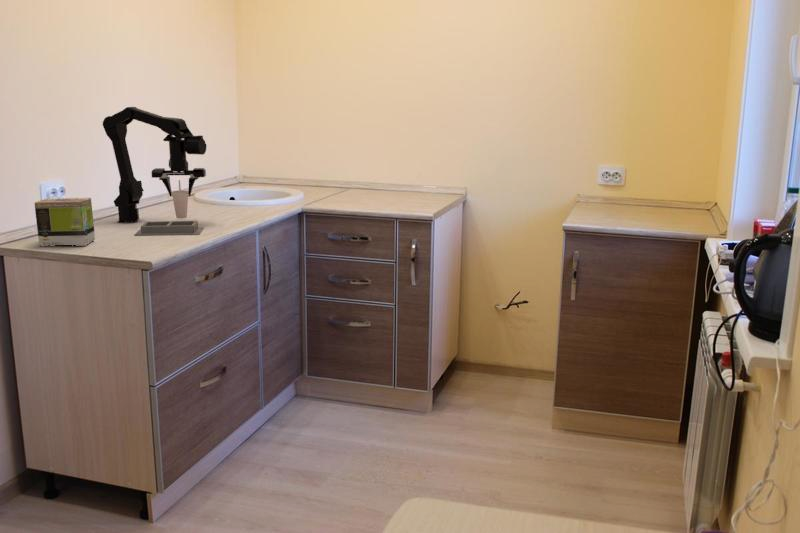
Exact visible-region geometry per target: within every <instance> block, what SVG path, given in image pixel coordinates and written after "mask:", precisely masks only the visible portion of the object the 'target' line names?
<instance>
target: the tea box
mask: <svg viewBox="0 0 800 533" xmlns="http://www.w3.org/2000/svg"><path fill="white" fill-rule="evenodd" d="M92 204H93V203H92V198H91V197H61V198H60V197H58V198H57V197H56V198H50V197H48V198H44V199H41V200H39V201H36V202H34V210H35V212H34V213H35V220H36V227H37V236H38V245H42V246H41V247H56V246H55V245H72V246H71V247H74V246H73V245H76V246H75V247H86V246H88V245H90V244H91V243H93V242H95V241H94V240H96V238H95V237H96V236H95V225H94V216H93V215H94V214H93V206H92ZM92 241H93V242H92ZM90 242H91V243H90ZM89 243H90V244H89ZM87 244H88V245H87ZM44 245H46V246H44ZM48 245H50V246H48Z"/></svg>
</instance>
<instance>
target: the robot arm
mask: <svg viewBox="0 0 800 533" xmlns="http://www.w3.org/2000/svg"><path fill="white" fill-rule="evenodd" d="M134 120H135V121H138V122H141V123H144V124H147V125H150V126H152V127H153V126H154V127H157V128H158V129H160V130H161V131H162V132H164V133H165V134H167V135H166V136H165V137H164V138H163V139H162V140H163V142H168V145H169V146H168V149H169V159H168V167H169V169H170V170H166V169H165V168H164V167H163V168H162V167H160V168H159V167H158V168H157V167H156V168H154V169H152V170H151V178H158V180H159V181H162V183H163V184H164V186H165V189H166V190H167V193H168V195H169V197H172V195H171V192H173V191H172V187H171V179H170V178H171V177H170V176H189V178H188V191H189V195H188V197H191V194H192V192H193V191H192V190H193V187H194V185H195V184H194V183H195V182H196V181H197V180H198V179H199V178H205V177H206V176H207V172H206V170H207V169H206V168H204V167H195V168H193V170H192V169H189V162H188V160H187V154H188V155H201V156H202V155H205V154H206V151H207V143H206V141H205V139H204V136H203V135H193V134H194V133H192V131H191V130H190V129H189V127H188V125H187V122H186V120H185V119H182V118H178V117H167V116H161V115H159V114H157V113H153V112H150V111H146V110H144V109H140V108H138V107H136V106H128V107H125V108H124V109H123V110H120V111H118V112H116V113H114V114H113V115H109V116H106V117H105V118H104V119H103V121H102V127H103V130H104V131H105V135H107V137H108V139H109V140H110V141H111V144H112V149H113V152H114V157H115V161H116V164H117V169H118V175H119V178H120V181H119V184H118V192H119V194H118V196H116V198H115V199H114V200H113V203H114V205H115V207H116V208H117V210H118V221H117V223H136V222H137V221H139V220H140V213H139V212H140V211H139V208H138V206H137V205H138V204H140V200H141V198H143V197H142V196H144V195H143V194H144V188H143V185H142V181H141V180H137V178H136V177H135V175H134V174H135V173H134V171H133V167H132V163H131V157H130V154H129V148H128V146H127V145H128V144H127V142H126V140H127V139H126V137H127V134H128V125H129V124H131V123H132V122H133V121H134Z"/></svg>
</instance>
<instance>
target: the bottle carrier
mask: <svg viewBox="0 0 800 533" xmlns="http://www.w3.org/2000/svg"><path fill="white" fill-rule="evenodd" d="M204 229H205V226H199V222H198V220H172V221H171V220H168V221H161V220H160V221H156V220H155V221H153V220H152V221H145V222H144V223H143V224H141V226H140V228H139V230H138V231H137V232H136V233H134V236H135V237H140V236H146V237H148V236H200V235H201V233H202V231H203V230H204Z"/></svg>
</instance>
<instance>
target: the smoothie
mask: <svg viewBox="0 0 800 533" xmlns="http://www.w3.org/2000/svg"><path fill="white" fill-rule="evenodd" d="M181 189H182V188H181V180H178V190H174V191H172V192H171V195H172V196H171V197H172V201H173V202H172V203H173V207H174V213H175V217H176V219H181V220H182V219H186V218H187V216H188V207H189V206H188V203H189V202H188V201H189V190H181Z"/></svg>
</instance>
